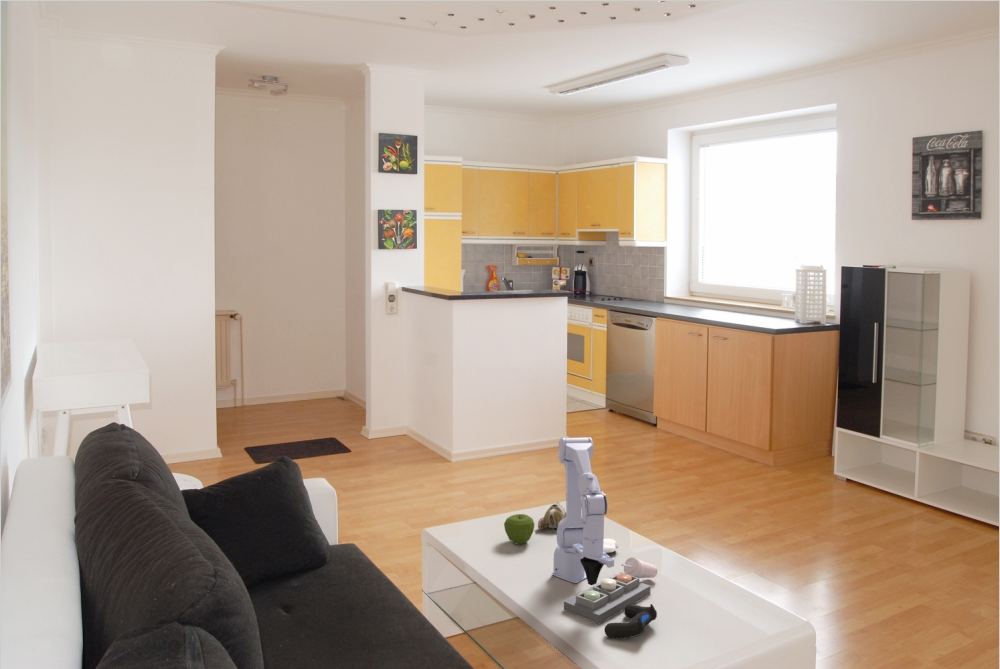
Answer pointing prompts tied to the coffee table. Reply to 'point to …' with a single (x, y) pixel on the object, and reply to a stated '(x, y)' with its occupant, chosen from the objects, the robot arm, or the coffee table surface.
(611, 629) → the gaming controller
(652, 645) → the coffee table surface
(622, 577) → the peach button
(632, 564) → the smoothie
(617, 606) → the button panel
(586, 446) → the robot arm
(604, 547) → the figurine
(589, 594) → the sage button
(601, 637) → the coffee table surface
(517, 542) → the apple
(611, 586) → the offwhite button
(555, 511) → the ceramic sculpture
